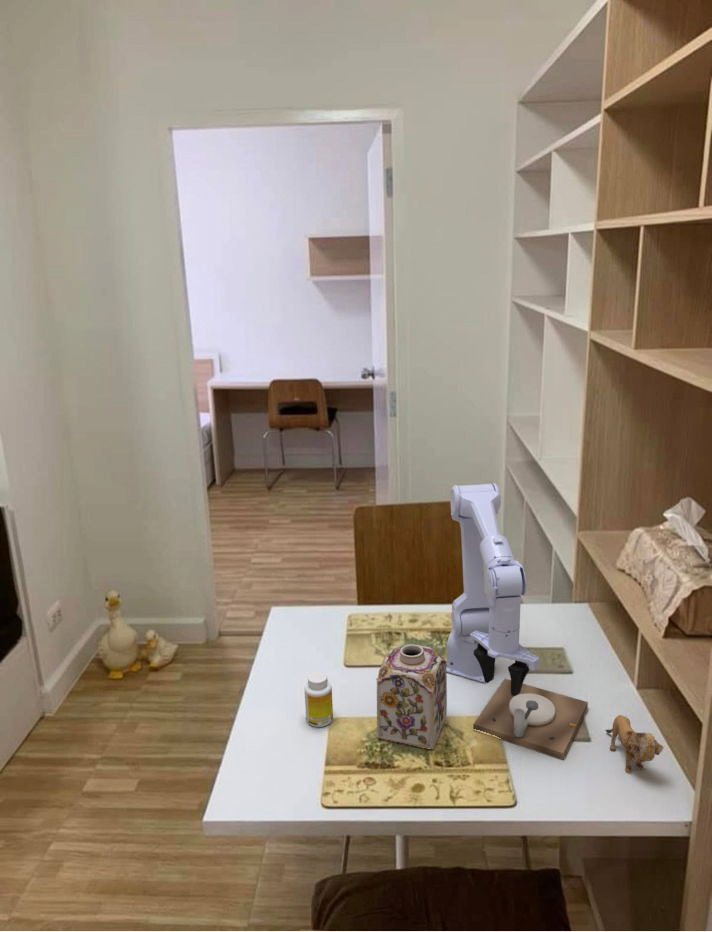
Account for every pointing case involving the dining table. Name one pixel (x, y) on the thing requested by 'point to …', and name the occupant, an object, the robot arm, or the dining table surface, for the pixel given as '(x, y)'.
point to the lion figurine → (634, 743)
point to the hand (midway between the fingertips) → (502, 687)
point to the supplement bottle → (318, 700)
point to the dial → (530, 711)
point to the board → (537, 738)
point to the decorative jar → (412, 695)
